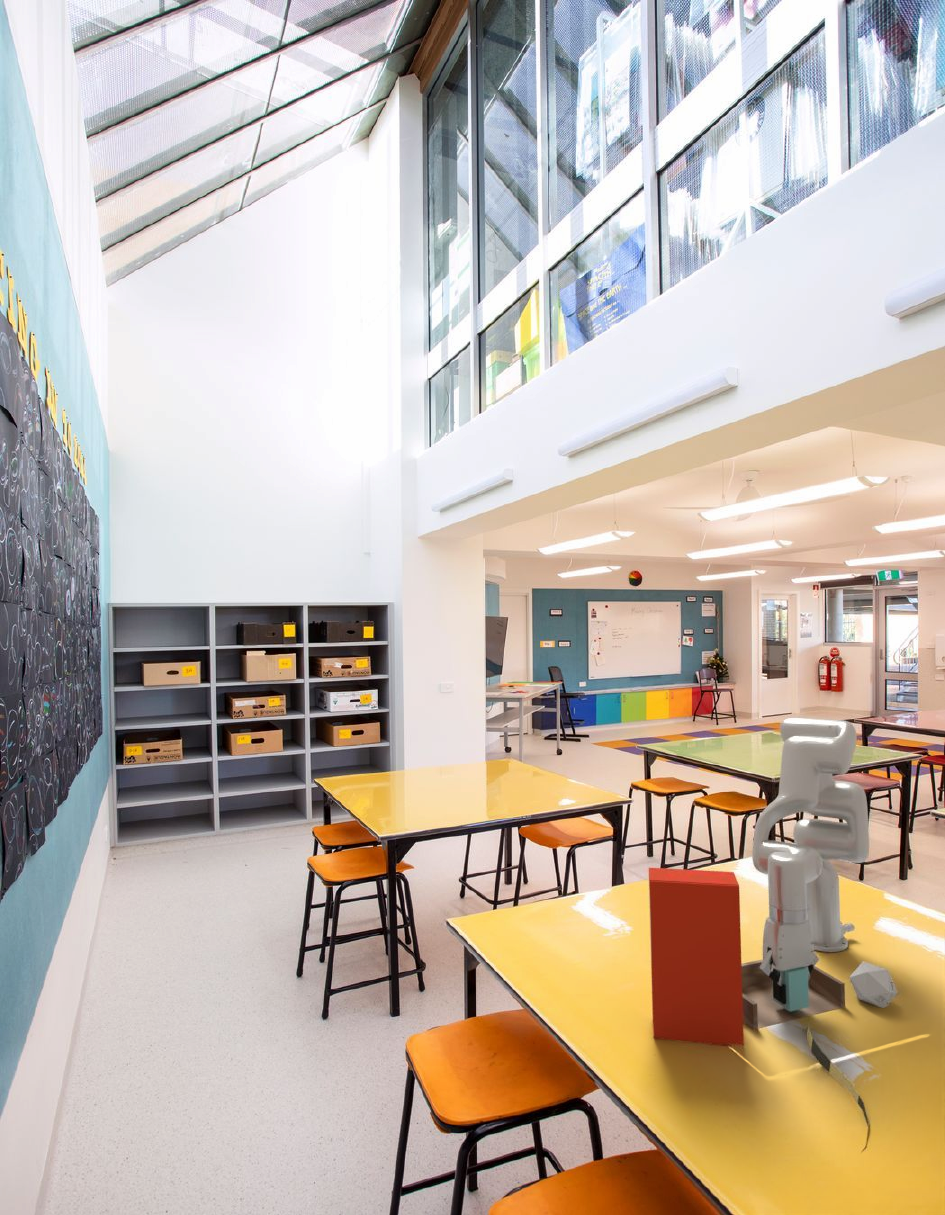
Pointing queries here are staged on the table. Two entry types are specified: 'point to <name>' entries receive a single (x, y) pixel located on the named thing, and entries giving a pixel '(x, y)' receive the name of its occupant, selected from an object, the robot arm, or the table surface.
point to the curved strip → (834, 1071)
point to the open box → (767, 1012)
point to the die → (873, 984)
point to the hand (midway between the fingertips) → (790, 997)
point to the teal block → (795, 989)
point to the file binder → (696, 956)
